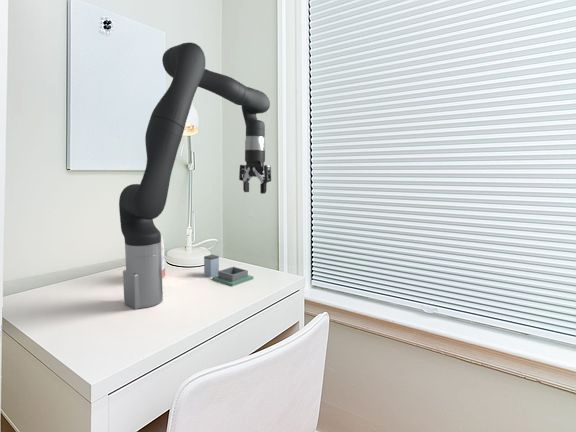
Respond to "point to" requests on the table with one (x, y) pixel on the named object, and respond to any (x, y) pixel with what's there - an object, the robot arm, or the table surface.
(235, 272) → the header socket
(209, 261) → the block
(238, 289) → the table surface
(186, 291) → the table surface
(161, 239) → the ink cartridge box
